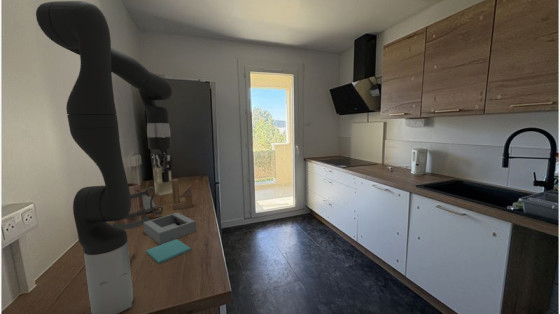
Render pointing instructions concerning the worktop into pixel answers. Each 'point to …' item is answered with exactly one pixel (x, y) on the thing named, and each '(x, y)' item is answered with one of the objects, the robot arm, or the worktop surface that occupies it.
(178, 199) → the wooden block
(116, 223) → the tankard
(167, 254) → the mat
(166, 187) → the birch block
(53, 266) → the worktop surface
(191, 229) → the open gray rectangular frame
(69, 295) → the worktop surface
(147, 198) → the coffee pot
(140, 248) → the worktop surface
